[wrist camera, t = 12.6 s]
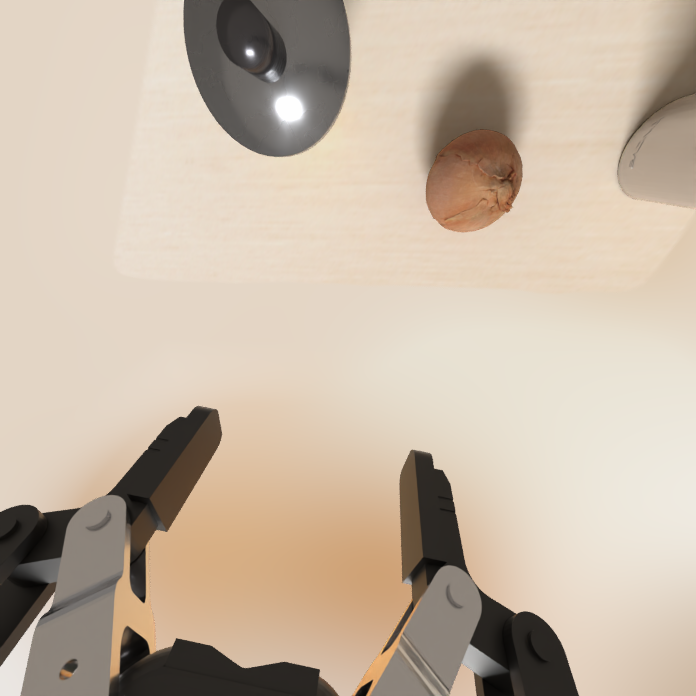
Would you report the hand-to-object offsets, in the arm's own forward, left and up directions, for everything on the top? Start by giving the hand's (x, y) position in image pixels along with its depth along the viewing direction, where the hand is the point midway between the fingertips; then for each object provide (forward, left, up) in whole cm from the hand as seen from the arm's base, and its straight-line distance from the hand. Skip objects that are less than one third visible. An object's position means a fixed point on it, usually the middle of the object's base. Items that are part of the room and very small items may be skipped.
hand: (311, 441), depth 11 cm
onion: (-10, -9, -33) cm, 36 cm away
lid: (+10, -15, -23) cm, 30 cm away
